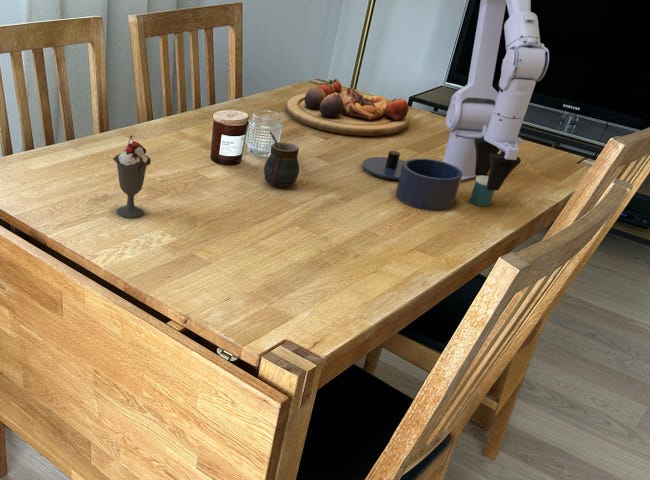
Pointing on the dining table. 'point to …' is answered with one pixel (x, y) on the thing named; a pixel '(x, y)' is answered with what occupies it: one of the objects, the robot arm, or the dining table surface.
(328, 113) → the wooden plate
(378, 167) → the lid
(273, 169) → the mate gourd
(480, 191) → the tub
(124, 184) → the sundae
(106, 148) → the dining table surface
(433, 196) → the dark blue round container
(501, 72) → the robot arm
